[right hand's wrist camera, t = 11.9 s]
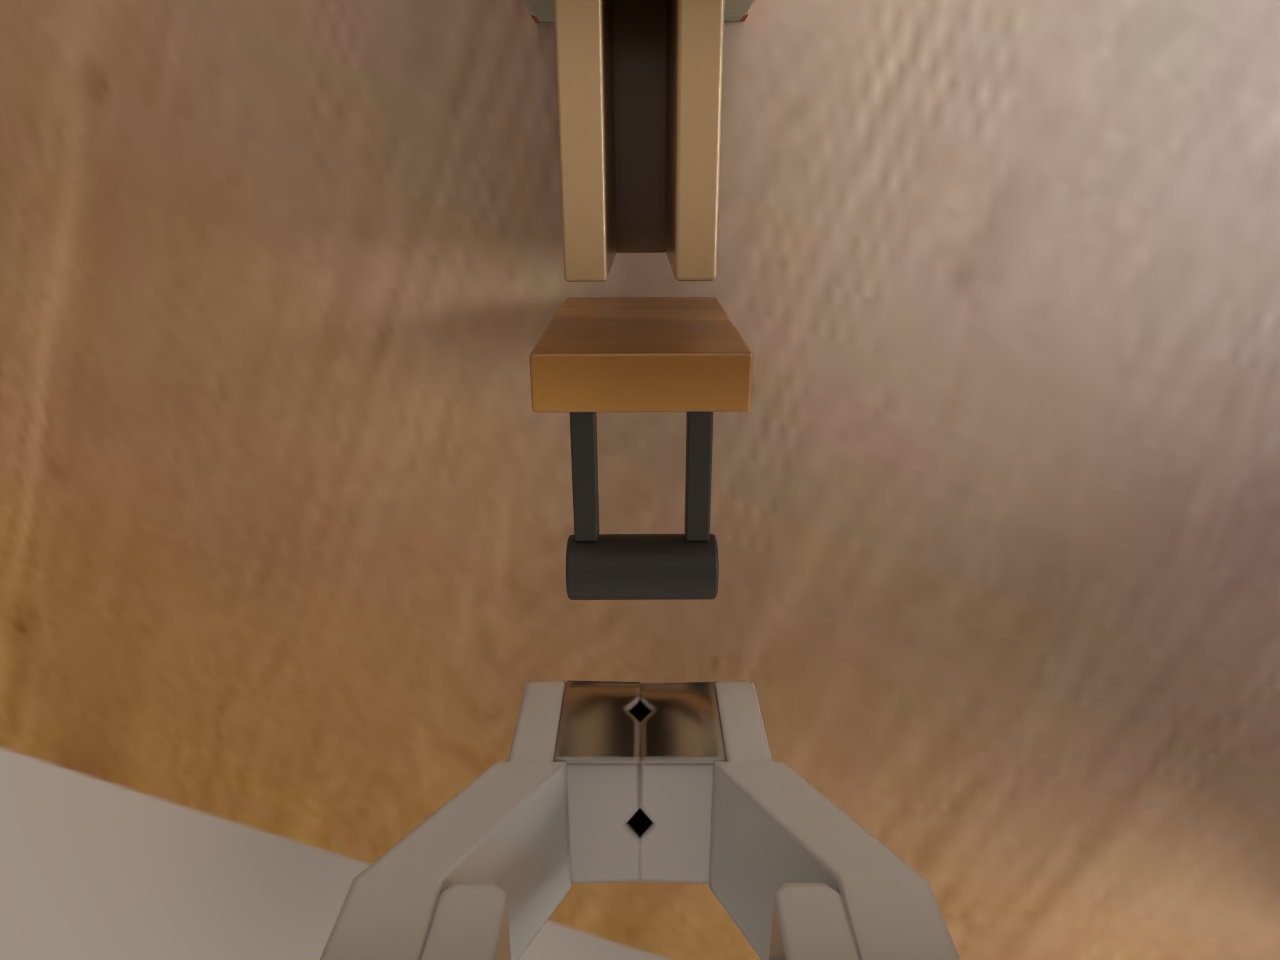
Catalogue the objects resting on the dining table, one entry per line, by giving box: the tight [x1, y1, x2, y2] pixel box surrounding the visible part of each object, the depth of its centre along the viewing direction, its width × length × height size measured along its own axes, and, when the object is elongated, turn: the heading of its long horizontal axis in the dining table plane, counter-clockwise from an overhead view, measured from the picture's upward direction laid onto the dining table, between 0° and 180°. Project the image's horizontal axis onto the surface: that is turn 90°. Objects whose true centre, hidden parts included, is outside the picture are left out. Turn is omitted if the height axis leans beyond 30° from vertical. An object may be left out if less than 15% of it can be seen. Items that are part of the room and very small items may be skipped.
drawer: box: [529, 0, 753, 600], centre depth 18 cm, size 22×4×8 cm, turn 0°
